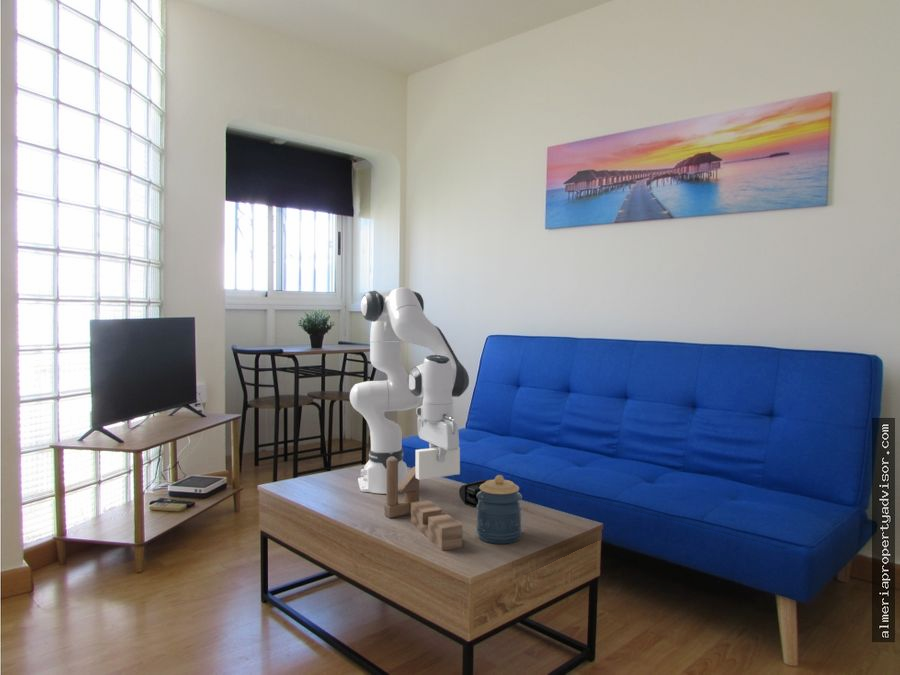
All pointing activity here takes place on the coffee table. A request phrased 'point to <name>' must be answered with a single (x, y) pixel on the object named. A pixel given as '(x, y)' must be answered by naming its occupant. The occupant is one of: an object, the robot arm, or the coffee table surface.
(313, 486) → the coffee table surface
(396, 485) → the wooden block
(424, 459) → the white rectangular slab
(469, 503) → the end cap
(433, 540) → the walnut crossbar
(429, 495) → the coffee table surface
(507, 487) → the canister
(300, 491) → the coffee table surface
